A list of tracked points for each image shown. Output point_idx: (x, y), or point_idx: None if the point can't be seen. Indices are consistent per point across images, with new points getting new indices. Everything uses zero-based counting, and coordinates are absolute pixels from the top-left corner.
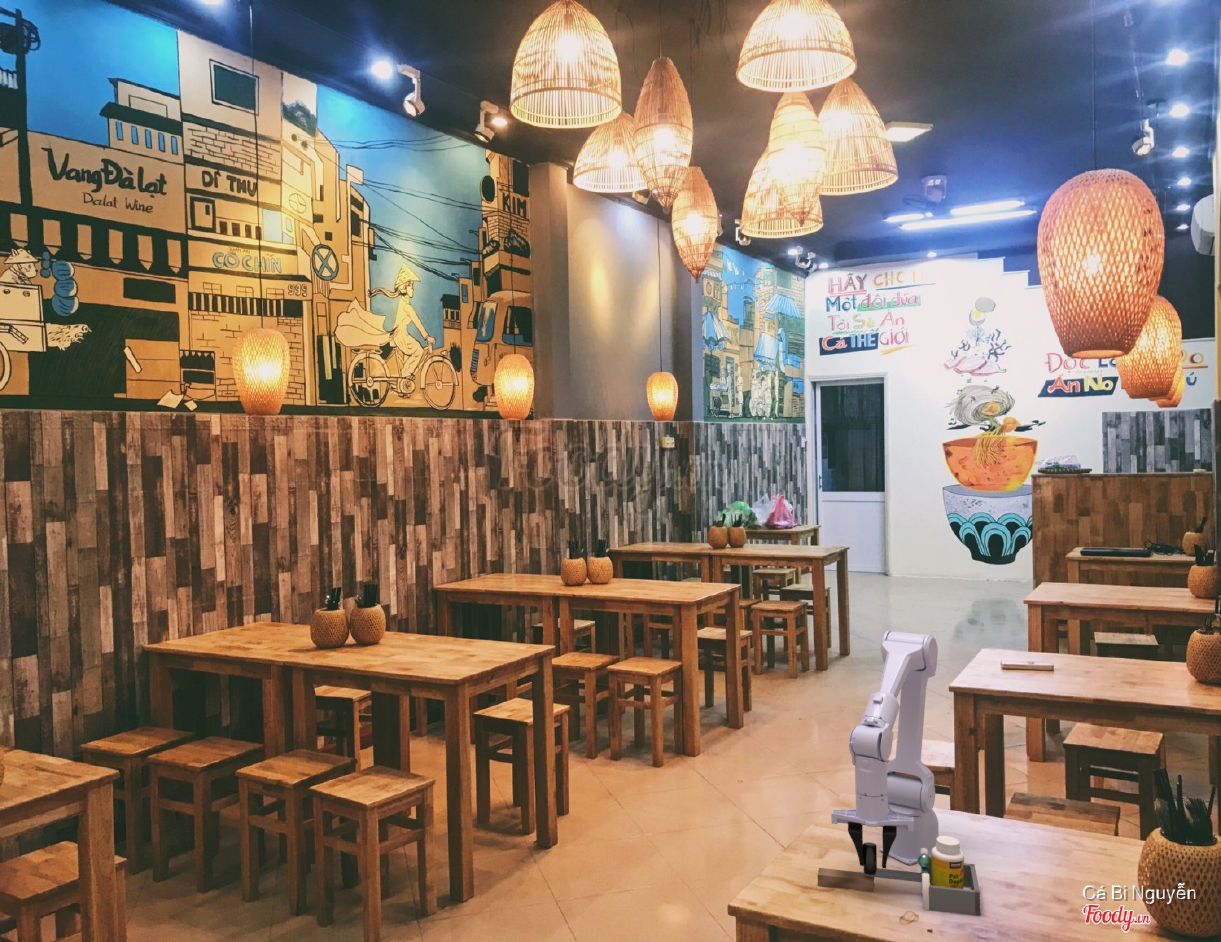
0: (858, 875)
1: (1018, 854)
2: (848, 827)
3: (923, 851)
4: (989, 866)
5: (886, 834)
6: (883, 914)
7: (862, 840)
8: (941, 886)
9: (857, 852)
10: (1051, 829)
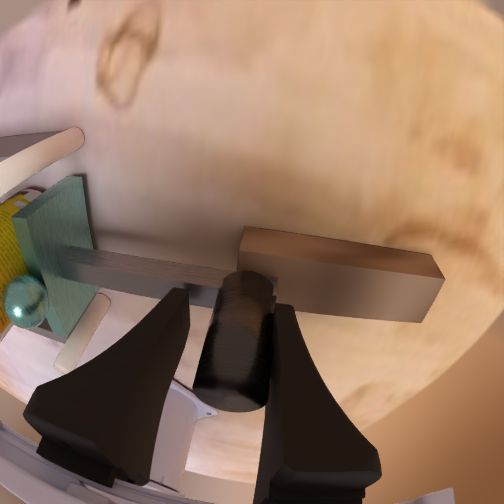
0: (296, 288)
1: (19, 367)
2: (362, 491)
3: (61, 361)
4: (29, 344)
5: (66, 427)
6: (218, 52)
7: (266, 422)
8: (14, 211)
9: (307, 352)
10: (24, 401)
